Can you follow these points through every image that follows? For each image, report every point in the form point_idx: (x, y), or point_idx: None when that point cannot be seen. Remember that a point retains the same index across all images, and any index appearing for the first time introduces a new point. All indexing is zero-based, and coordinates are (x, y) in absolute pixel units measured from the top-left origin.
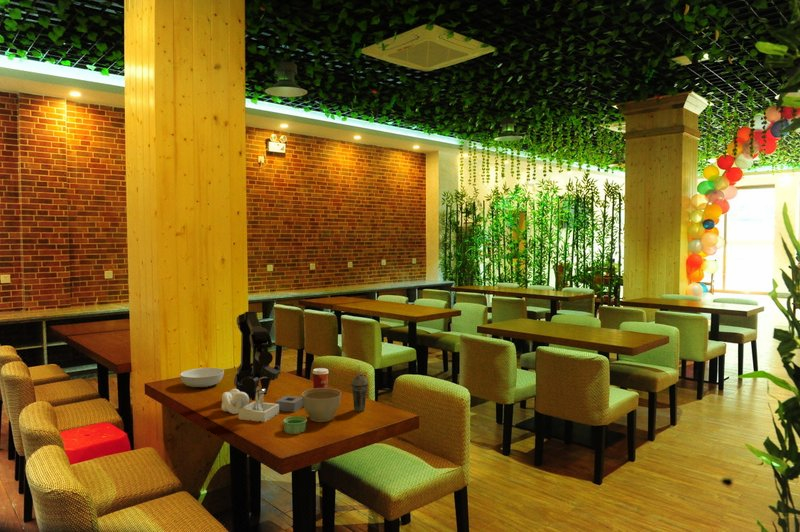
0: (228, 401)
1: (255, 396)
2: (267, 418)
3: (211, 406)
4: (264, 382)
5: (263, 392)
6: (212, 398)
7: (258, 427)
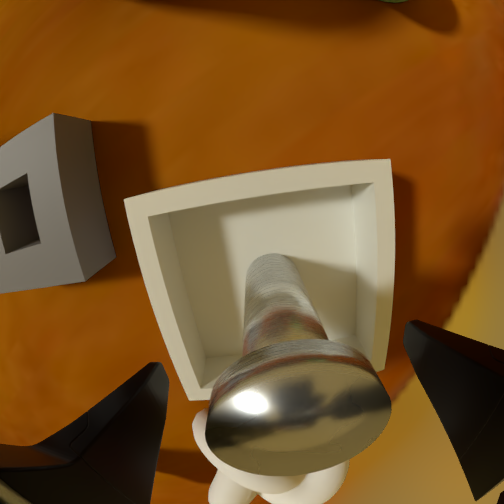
0: None
1: (432, 337)
2: (327, 162)
3: None
4: (119, 492)
5: (325, 343)
6: (187, 493)
7: (435, 145)
